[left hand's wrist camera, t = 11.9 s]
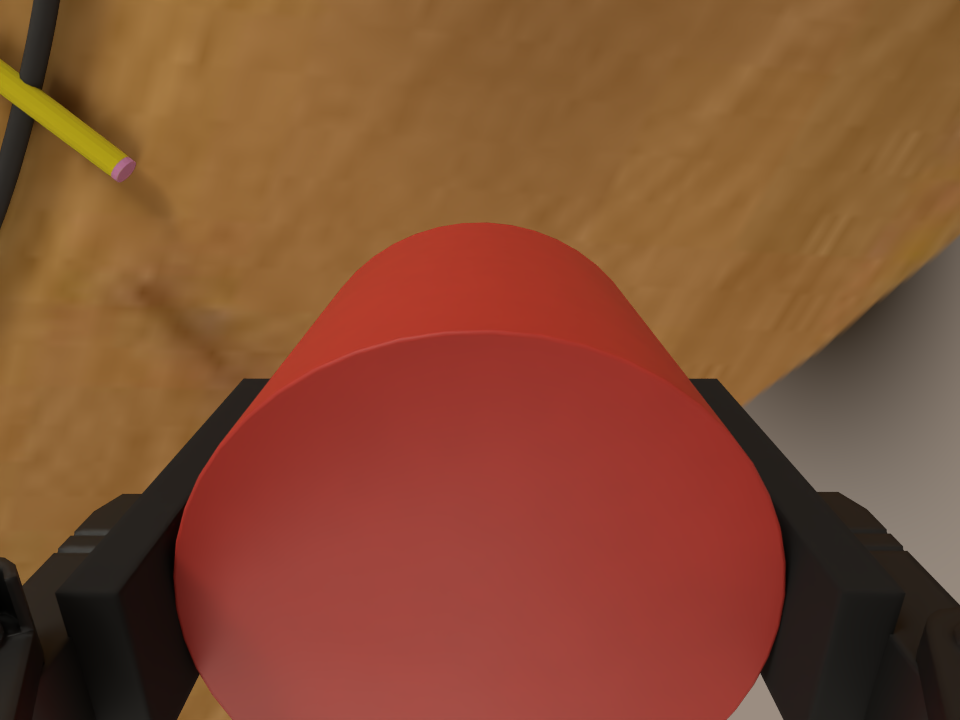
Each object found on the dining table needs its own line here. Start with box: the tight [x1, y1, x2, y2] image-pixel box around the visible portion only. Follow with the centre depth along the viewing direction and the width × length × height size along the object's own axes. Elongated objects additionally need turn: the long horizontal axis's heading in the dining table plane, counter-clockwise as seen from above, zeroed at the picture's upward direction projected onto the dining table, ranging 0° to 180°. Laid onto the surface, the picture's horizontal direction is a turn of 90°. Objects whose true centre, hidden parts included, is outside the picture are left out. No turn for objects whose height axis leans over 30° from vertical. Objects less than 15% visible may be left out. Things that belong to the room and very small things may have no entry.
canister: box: [173, 223, 786, 720], centre depth 13 cm, size 9×9×8 cm
